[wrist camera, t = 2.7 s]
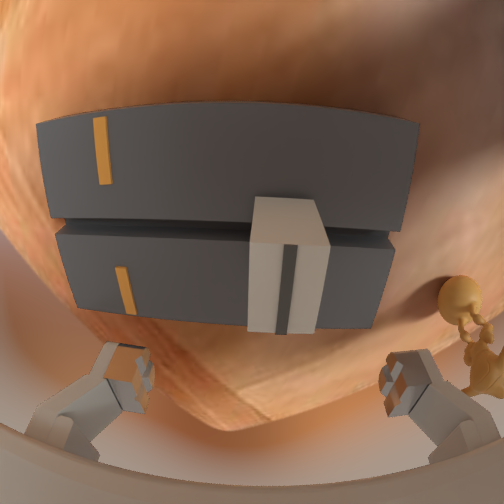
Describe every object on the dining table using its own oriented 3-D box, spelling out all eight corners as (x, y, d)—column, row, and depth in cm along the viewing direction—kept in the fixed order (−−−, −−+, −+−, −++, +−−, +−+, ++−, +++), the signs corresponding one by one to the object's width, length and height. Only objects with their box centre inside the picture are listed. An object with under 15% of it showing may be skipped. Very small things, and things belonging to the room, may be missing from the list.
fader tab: (310, 189, 17) (330, 247, 11) (302, 258, 19) (314, 335, 13) (256, 186, 17) (249, 243, 11) (254, 256, 19) (247, 333, 14)
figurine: (437, 326, 24) (485, 433, 14) (390, 311, 23) (436, 438, 13) (488, 253, 20) (568, 351, 10) (445, 227, 19) (539, 339, 9)
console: (398, 117, 16) (421, 124, 13) (361, 302, 23) (371, 330, 20) (62, 116, 17) (34, 124, 14) (93, 285, 24) (76, 309, 21)
